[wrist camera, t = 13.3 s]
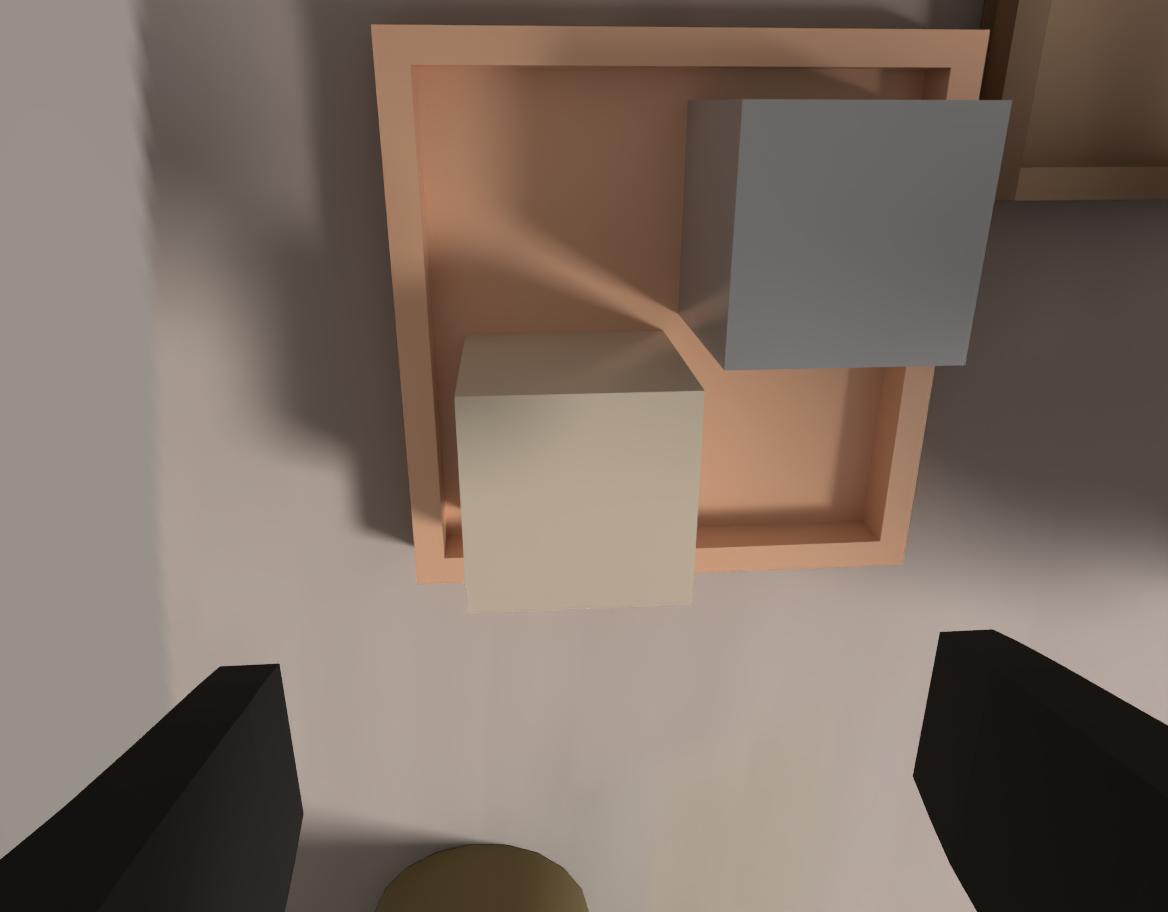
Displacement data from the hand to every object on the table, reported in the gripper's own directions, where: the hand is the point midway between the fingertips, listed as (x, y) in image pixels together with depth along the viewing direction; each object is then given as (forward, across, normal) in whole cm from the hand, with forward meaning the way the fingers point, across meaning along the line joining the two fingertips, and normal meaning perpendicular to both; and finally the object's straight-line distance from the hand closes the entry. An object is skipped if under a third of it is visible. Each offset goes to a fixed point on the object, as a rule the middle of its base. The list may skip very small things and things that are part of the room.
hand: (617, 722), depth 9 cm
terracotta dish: (+10, -2, -2) cm, 10 cm away
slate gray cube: (+9, -4, -4) cm, 11 cm away
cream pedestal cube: (+9, 0, 0) cm, 9 cm away
